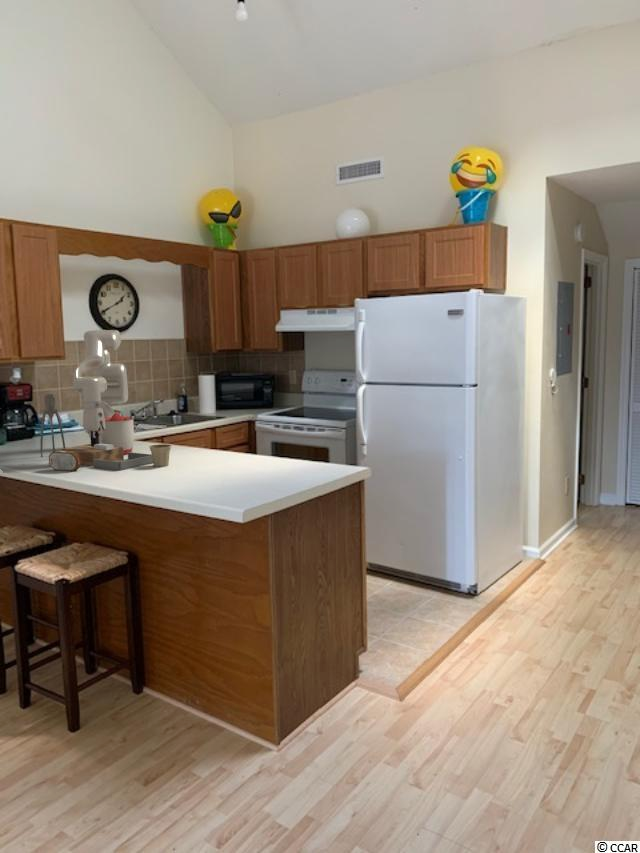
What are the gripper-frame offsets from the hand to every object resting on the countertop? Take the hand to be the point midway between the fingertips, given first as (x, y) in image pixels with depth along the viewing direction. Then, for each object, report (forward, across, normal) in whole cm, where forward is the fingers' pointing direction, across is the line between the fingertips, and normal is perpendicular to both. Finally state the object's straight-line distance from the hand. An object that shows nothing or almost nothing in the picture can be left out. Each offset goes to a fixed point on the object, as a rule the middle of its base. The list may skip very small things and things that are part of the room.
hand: (95, 446), depth 300 cm
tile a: (+1, -4, 0) cm, 4 cm away
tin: (+7, -5, +20) cm, 22 cm away
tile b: (+1, -8, 0) cm, 8 cm away
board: (+7, +2, 0) cm, 7 cm away
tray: (+7, -19, 0) cm, 20 cm away
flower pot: (+7, -35, -6) cm, 36 cm away
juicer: (+7, +30, +2) cm, 31 cm away
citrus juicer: (+7, +7, -20) cm, 22 cm away
